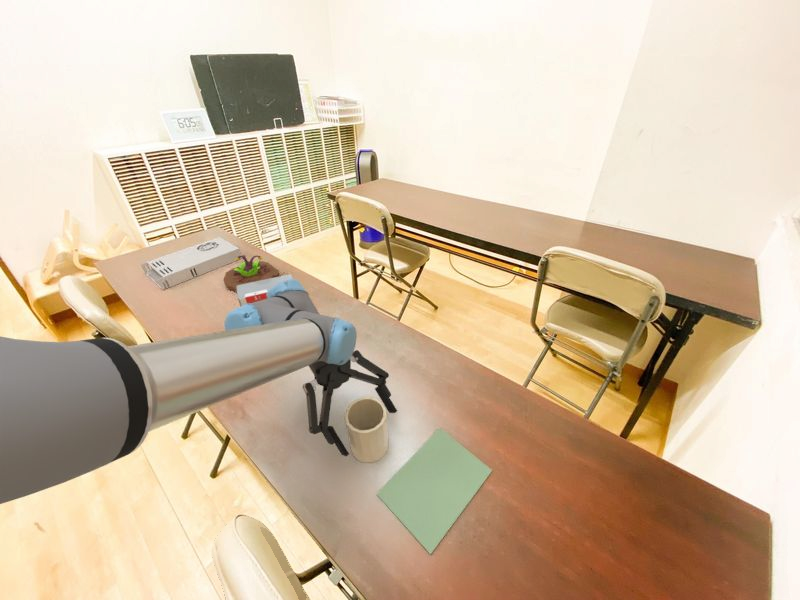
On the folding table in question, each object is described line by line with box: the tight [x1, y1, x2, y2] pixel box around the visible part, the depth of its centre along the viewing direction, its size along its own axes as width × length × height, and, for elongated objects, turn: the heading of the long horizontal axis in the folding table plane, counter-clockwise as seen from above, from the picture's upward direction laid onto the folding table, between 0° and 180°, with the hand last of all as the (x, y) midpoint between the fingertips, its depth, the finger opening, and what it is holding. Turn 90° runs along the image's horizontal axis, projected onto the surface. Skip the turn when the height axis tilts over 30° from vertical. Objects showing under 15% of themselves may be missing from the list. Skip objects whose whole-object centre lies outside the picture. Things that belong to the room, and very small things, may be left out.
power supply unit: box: [140, 236, 243, 291], centre depth 138 cm, size 19×33×5 cm, turn 140°
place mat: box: [376, 427, 493, 556], centre depth 66 cm, size 20×14×1 cm
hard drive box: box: [236, 273, 294, 307], centre depth 96 cm, size 16×8×20 cm, turn 114°
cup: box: [344, 396, 389, 463], centre depth 69 cm, size 8×8×12 cm
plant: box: [223, 254, 280, 294], centre depth 127 cm, size 20×20×11 cm
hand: (370, 432), depth 69 cm, fingers open, 13 cm apart
